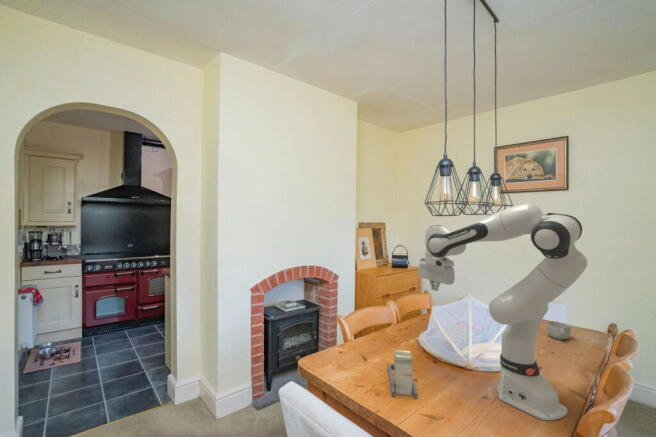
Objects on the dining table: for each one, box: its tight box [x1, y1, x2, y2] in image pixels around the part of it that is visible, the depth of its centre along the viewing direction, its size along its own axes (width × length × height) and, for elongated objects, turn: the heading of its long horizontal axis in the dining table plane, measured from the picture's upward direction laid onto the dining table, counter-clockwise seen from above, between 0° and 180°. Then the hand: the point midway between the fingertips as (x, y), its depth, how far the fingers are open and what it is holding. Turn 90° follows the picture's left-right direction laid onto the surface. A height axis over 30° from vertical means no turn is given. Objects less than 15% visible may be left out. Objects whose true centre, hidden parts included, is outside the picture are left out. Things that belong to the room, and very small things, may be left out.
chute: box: [387, 363, 418, 400], centre depth 127 cm, size 22×10×3 cm, turn 173°
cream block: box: [393, 349, 413, 396], centre depth 121 cm, size 6×6×14 cm
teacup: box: [546, 320, 572, 341], centre depth 176 cm, size 14×11×8 cm
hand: (434, 290), depth 145 cm, fingers closed
